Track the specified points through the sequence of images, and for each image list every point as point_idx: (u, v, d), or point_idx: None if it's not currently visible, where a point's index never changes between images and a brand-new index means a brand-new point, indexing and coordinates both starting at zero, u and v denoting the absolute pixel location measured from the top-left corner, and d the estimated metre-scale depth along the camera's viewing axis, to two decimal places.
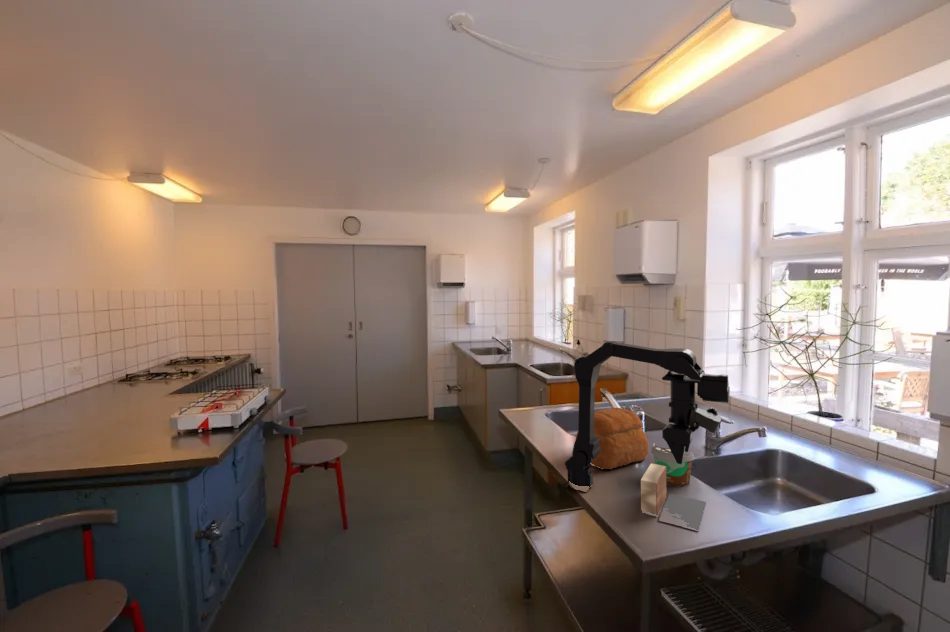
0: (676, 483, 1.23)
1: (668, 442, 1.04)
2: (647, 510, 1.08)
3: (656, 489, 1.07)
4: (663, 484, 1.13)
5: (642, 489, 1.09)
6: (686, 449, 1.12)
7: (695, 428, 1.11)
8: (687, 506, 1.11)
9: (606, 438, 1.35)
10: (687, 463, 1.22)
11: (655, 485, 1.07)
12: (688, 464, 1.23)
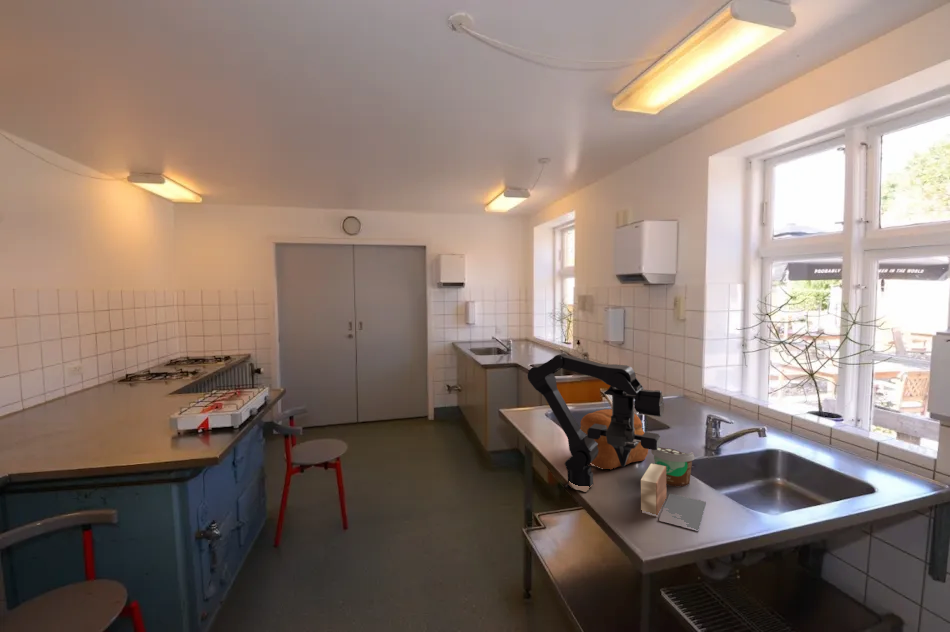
0: (676, 483, 1.23)
1: None
2: (647, 510, 1.08)
3: (656, 489, 1.07)
4: (663, 484, 1.13)
5: (642, 489, 1.09)
6: None
7: None
8: (687, 506, 1.11)
9: (606, 438, 1.35)
10: (687, 463, 1.22)
11: (655, 485, 1.07)
12: (688, 464, 1.23)
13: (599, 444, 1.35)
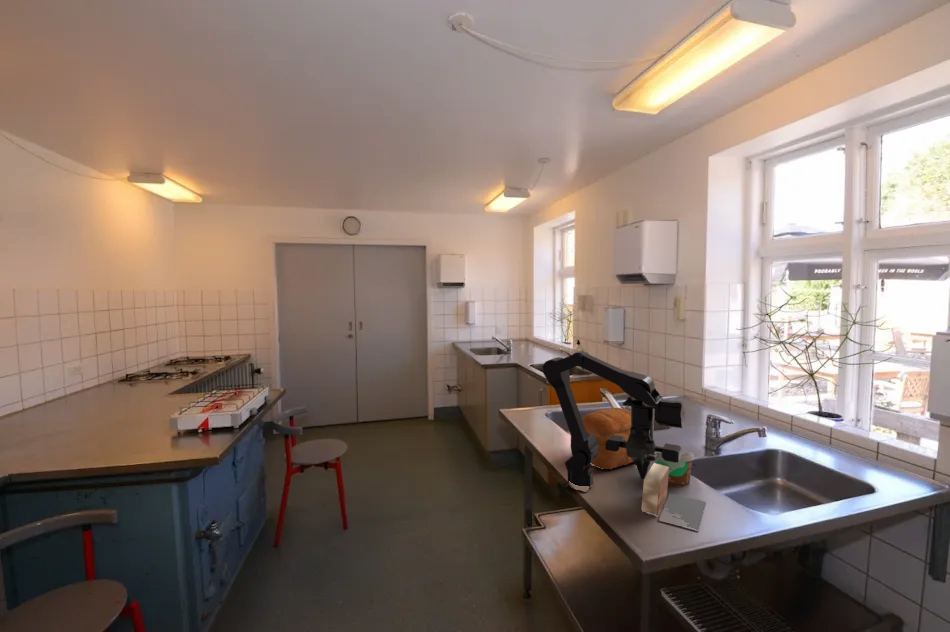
0: (676, 483, 1.23)
1: None
2: (647, 509, 1.08)
3: (659, 490, 1.07)
4: (665, 484, 1.13)
5: (645, 488, 1.08)
6: None
7: None
8: (687, 506, 1.11)
9: (606, 438, 1.35)
10: (687, 463, 1.22)
11: (658, 486, 1.06)
12: (688, 464, 1.23)
13: (599, 444, 1.35)
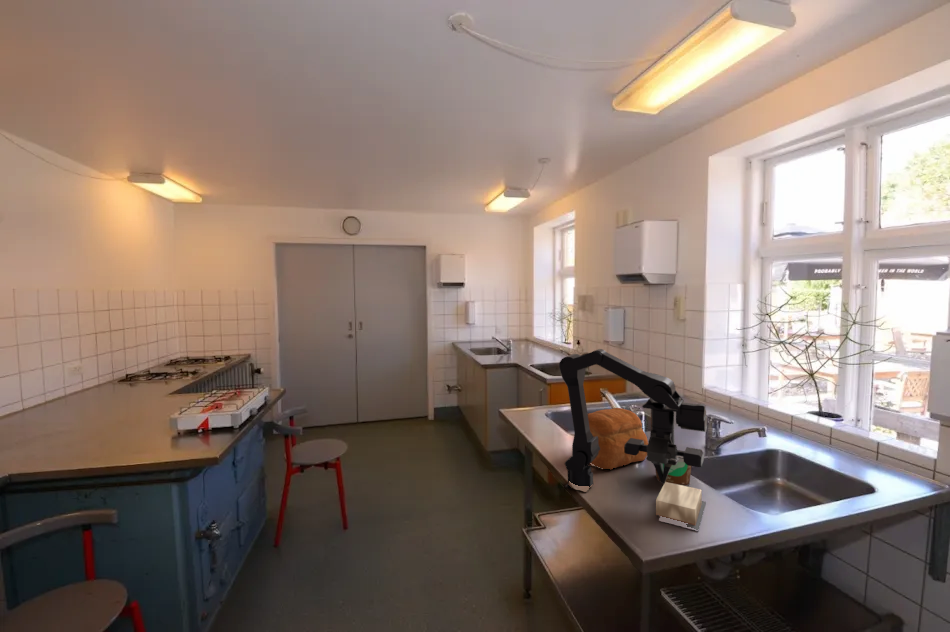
0: (676, 483, 1.23)
1: None
2: (660, 507, 1.06)
3: (687, 522, 1.03)
4: None
5: (684, 508, 1.03)
6: None
7: None
8: None
9: (606, 438, 1.35)
10: None
11: (692, 523, 1.02)
12: None
13: (599, 444, 1.35)
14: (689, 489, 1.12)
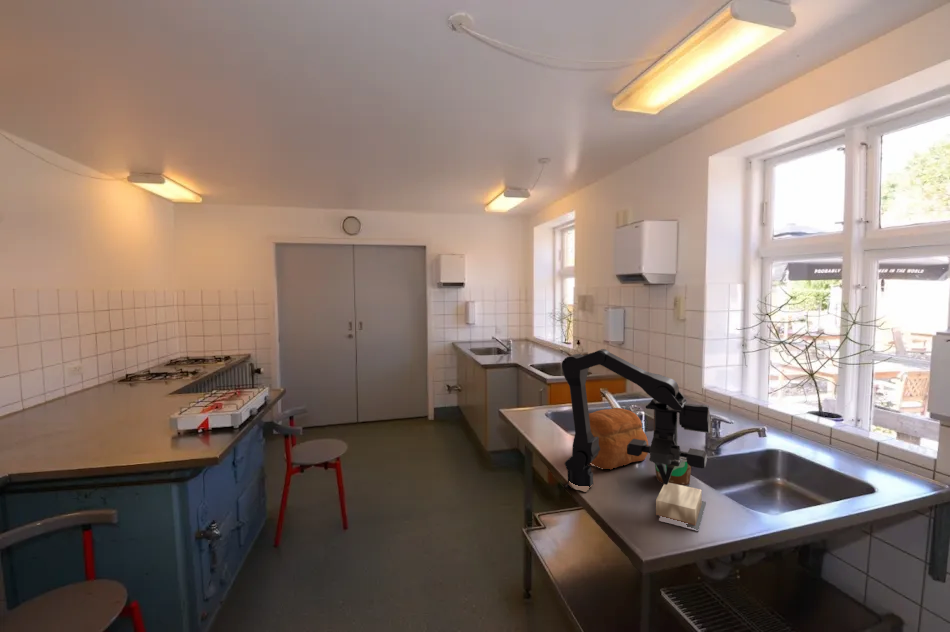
0: (676, 483, 1.23)
1: None
2: (660, 507, 1.06)
3: (687, 522, 1.03)
4: None
5: (684, 508, 1.03)
6: None
7: None
8: None
9: (606, 438, 1.35)
10: (687, 463, 1.22)
11: (692, 523, 1.02)
12: (688, 464, 1.23)
13: (599, 444, 1.35)
14: (689, 489, 1.12)
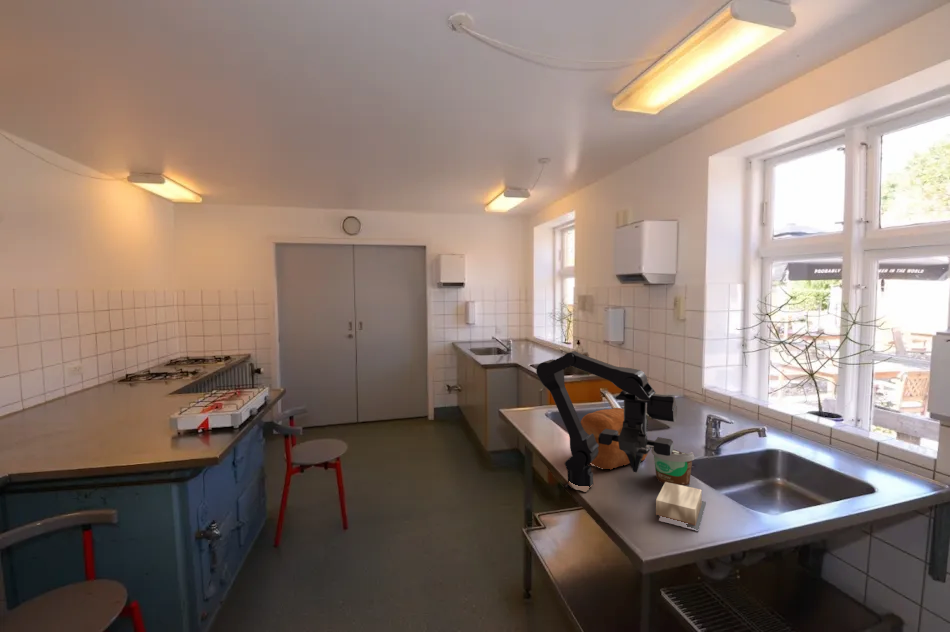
0: (676, 483, 1.23)
1: None
2: (660, 507, 1.06)
3: (687, 522, 1.03)
4: None
5: (684, 508, 1.03)
6: None
7: (635, 451, 1.13)
8: None
9: None
10: (687, 463, 1.22)
11: (692, 523, 1.02)
12: (688, 464, 1.23)
13: (599, 444, 1.35)
14: (689, 489, 1.12)
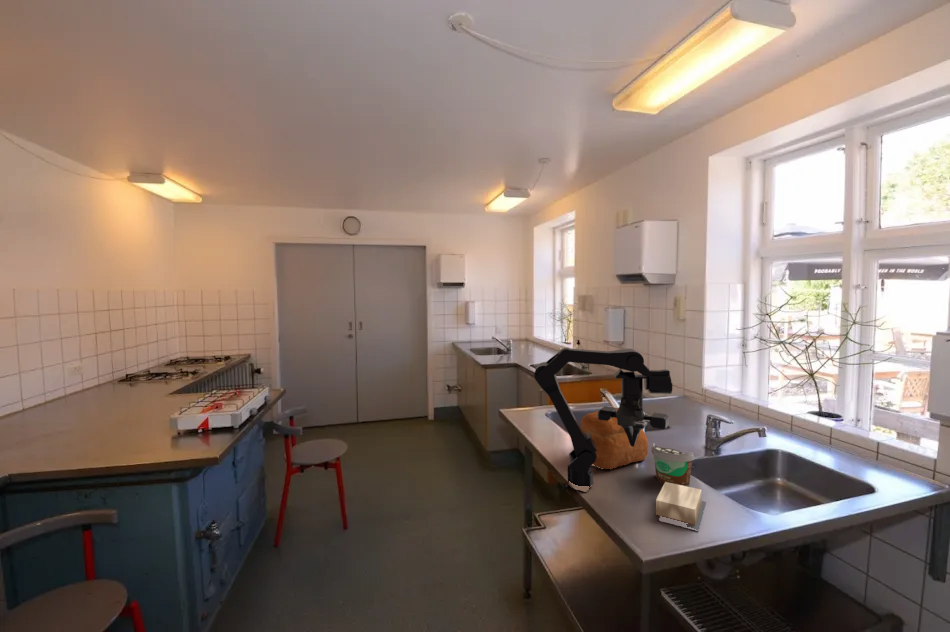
0: (676, 483, 1.23)
1: None
2: (660, 507, 1.06)
3: (687, 522, 1.03)
4: None
5: (684, 508, 1.03)
6: None
7: None
8: None
9: (606, 438, 1.35)
10: (687, 463, 1.22)
11: (692, 523, 1.02)
12: (688, 464, 1.23)
13: (599, 444, 1.35)
14: (689, 489, 1.12)
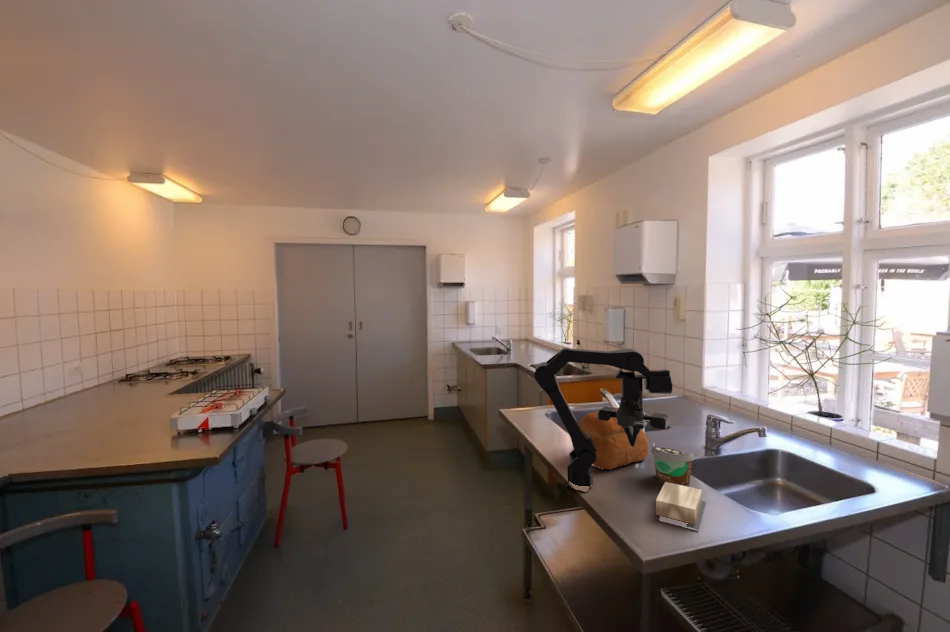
0: (676, 483, 1.23)
1: None
2: (660, 507, 1.06)
3: (687, 522, 1.03)
4: None
5: (684, 508, 1.03)
6: None
7: None
8: None
9: (606, 438, 1.35)
10: (687, 463, 1.22)
11: (692, 523, 1.02)
12: (688, 464, 1.23)
13: (599, 444, 1.35)
14: (689, 489, 1.12)
